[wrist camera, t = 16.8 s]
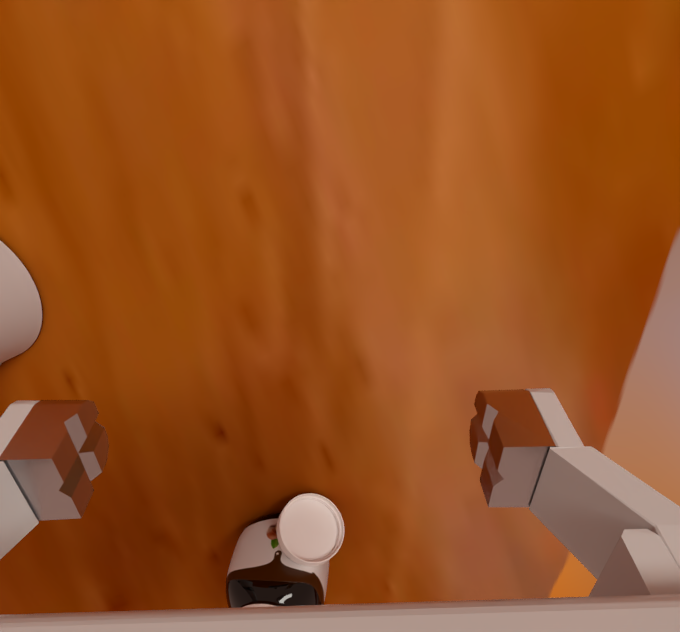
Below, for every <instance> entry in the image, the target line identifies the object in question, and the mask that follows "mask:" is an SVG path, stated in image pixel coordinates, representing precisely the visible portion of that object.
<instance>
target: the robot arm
mask: <svg viewBox="0 0 680 632" xmlns="http://www.w3.org/2000/svg"><path fill="white" fill-rule="evenodd" d="M41 324H42V306H41V301H40V297H39V294H38V291H37V288H36V286H35V284H34V282H33V280H32V278H31V276H30V274H29V273H28V271H27V269H26V268H25V267H24V265H23V264H22V262H21V261H20V260H19V259H18V257H17V256H16V255H15V254H14V253H13V252H12V251H11V250H10V249H9V248H8V247H7V246H6V245H5V244H4V243H3V242H1V241H0V365H1V363H2V362H4V361H6V360H8V359H11V358H13V357H15V356H17V355H19V354H21V353H23V352H24V351H26V350H27V349H28V348H29V347H30V346H31V345H32V344H33V343H34V342H35V340H36V338H37V337H38V334H39V332H40V329H41ZM474 405H475V408H476V411H477V415H476V416H474V417H473V418H472V419H471V425H470V447H471V452H472V456H473V459H474V463H476V464H477V465H478V466H479V467H480V468H481V469H482V472H481V476H480V482H481V486H482V489H483V492H484V495H485V498H486V502H487V505H488V507H530V508H529V510H530V511H531V512H532V513H533V514H534V515H535V516H536V517H537V518H538V519H539V520H540V521H541V522H542V523H543V524H544V525H545V526H546V527H547V528H548V529H549V530H550V531H551V532H552V533H553V534H554V535H555V536H556V537H557V538H558V539H559V541H560V542H561V543H562V544H563V545H564V546H565V547H566V548H567V549H568V550H569V551H570V552H571V553H572V554H573V555H574V556H575V557H576V558H577V559H578V560H579V561H580V562H581V563H582V564H583V565H584V566H585V567H586V568H587V569H588V570H589V571H590V572H591V573H592V574H593V576H594V577H595V578H596V579H597V582H596V583H595V585H594V587H593V589H592V591H591V593H590V595H589V597H566V598H533V599H500V600H467V601H435V602H403V603H370V604H338V605H306V606H273V607H241V608H209V609H177V610H144V611H111V612H78V613H45V614H12V615H0V632H680V507H679V506H678V505H676V504H675V503H673V502H672V501H670V500H669V499H668V498H666V497H665V496H663V495H661V494H660V493H659V492H657V491H656V490H654V489H653V488H651V487H650V486H649V485H647V484H646V483H644V482H643V481H641V480H640V479H638V478H637V477H635V476H634V475H632V474H631V473H629V472H628V471H627V470H625V469H624V468H622V467H621V466H619V465H618V464H616V463H615V462H613V461H612V460H611V459H609V458H608V457H606V456H605V455H603V454H602V453H600V452H599V451H597V450H596V449H594V448H593V447H584V445H583V443H582V442H581V440H580V438H579V436H578V434H577V433H576V431H575V429H574V427H573V425H572V424H571V422H570V420H569V418H568V416H567V415H566V413H565V411H564V409H563V407H562V406H561V404H560V402H559V400H558V398H557V397H556V395H555V393H554V391H552V390H551V389H550V388H542V389H525V390H524V389H519V390H488V391H478V393H477V395H476V399H475V403H474ZM98 414H99V413H98V410H97V408H96V406H95V404H94V402H92V401H89V400H41V401H16V402H14V403H12V404H10V405H9V407H8V408H7V409H6V411H5V412H4V414H3V415H2V416H1V418H0V559H1V558H2V557H3V556H5V555H6V554H7V553H8V552H9V551H10V550H11V549H12V548H13V547H14V546H15V545H16V544H17V543H18V542H19V541H20V540H21V539H22V538H24V537H25V536H26V535H27V534H28V533H29V532H30V531H31V530H32V529H33V528H34V527H35V526H36V525H37V524H38V523H39V521H40V520H58V519H77V518H82V516H83V513H84V511H85V509H86V507H87V505H88V502H89V500H90V498H91V496H92V493H93V491H94V489H93V486H92V484H91V480H93V479H94V478H95V477H96V476H98V475H99V474H100V473H101V472H102V471H103V468H104V466H105V463H106V461H107V456H108V449H109V444H108V436H107V433H106V431H105V428H104V427H102V426H101V425H100V424H98V423H97V422H95V420H96V418H97V416H98Z"/></svg>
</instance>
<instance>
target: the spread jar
mask: <svg viewBox="0 0 680 632" xmlns="http://www.w3.org/2000/svg"><path fill="white" fill-rule="evenodd" d="M343 538H344V522H343V519H342V516H341V514H340V512H339V510H338V508H337V507H336V506H335V505H334V504H333V503H332V502H331V501H330V500H329V499H327V498H325V497H324V496H321V495H319V494H314V493H305V494H301V495H298V496H296V497H294V498H293V499H292V500H290V501H289V502H288V503H287V505H286V506H285V507H284V509H283V510H282V512H281V513H277V514H272V515H268V516H265V517H263V518H260V519H258V520H256V521H255V522H253V523H251V524H250V525H249V526H248V527H246V529H244V531H243V532H242V534H241V535H240V537H239V539H238V542H237V544H236V547H235V550H234V553H233V556H232V559H231V562H230V565H229V569H228V573H227V578H226V598H227V603H228V607H229V608H241V607H273V606H306V605H324V601H325V595H326V588H327V580H328V571H329V559H331V558H332V557H333V556H334V555H335V554H336V553H337V551H338V550H339V548H340V547H341V544H342V542H343Z"/></svg>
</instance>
